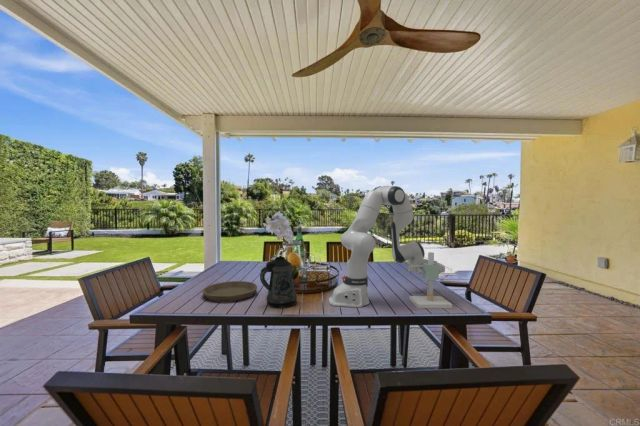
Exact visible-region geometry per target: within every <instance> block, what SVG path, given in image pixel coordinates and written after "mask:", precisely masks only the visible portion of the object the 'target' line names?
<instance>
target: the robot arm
mask: <svg viewBox="0 0 640 426" xmlns="http://www.w3.org/2000/svg"><path fill="white" fill-rule="evenodd" d="M383 205H385V206H391V207H392V211H393V221H392V222H391V224H390V236H391V256H392V259H393V260H394V261H395V262H396V263H399V264H402V263H404V262H406V261H407V265H405V268H406V269H407V271H408V273H418V274H421V275H423V273H424V270H423V263H428V258H427V259H426V258H425V249H424V247H423V245H422V244H421V243H420V242H418V241H417V240H414V241H411V242H408V243H404V244H400V234H401V232H402V231H403V230H404V229H405V228H406V227H408V226H409V225H410V224H411V223H412V221H413V220H414V211H413V205H412V203H411V200H410V198H409V195H408V194H407V193H405V190H404V189H403V188H402V187H401V186H396V185H395V186H394V185H383V186H381V185H380V186H376V187H374V188H373V189H372V190H369V191H367V192H366V194H365V196H364V197H363V199H362V201H361V204H360V205H359V208H358V211H357V213H356V215H355V218H354V220H353V221H352V223H351V224H350V226H349V227H348V229H347V230H346V231H345V232H343V233H342V234H341V237H340V243H341V245H342V246H343V247H344V248H345V249H347V250H350V251H351V254H350V257H349V259H348V260H347V262H346V275H341V279H342V283H341V284H339V285H338V286H336V287H335V288H334V289H333V292H332V295H331V296H330V297H329V298H328V303H329V304H330V306H334V307H344V308H345V307H348V308H362V307H363V306H367V305H369V304H370V299H369V293H368V285H369V278H368V261H369V258H370V254H371V253H372V252H373V251H374V250H375V248H376V239H375V238H374V237H373V236H372V235H371V234H369V233H368V232H369V231H370V229H372V228H373V227H374V226H375V224H376V221H377V219H378V216H379V214H380V210H381V209H382V206H383ZM434 263H436V264H438V265H439V274H441V273H443V274H444V273H446V265H444V264H442V263H439V262H438V261H437V260H434Z"/></svg>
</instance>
